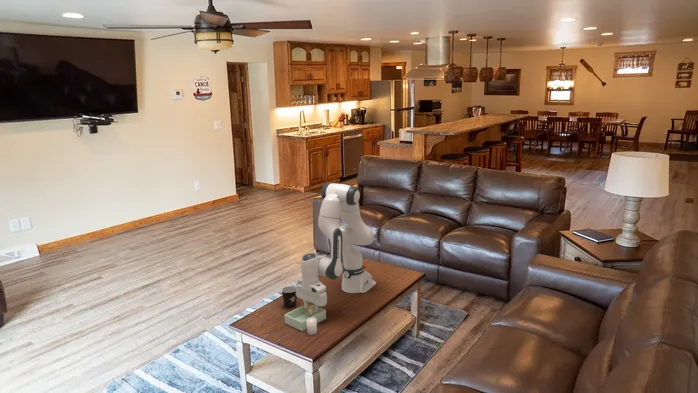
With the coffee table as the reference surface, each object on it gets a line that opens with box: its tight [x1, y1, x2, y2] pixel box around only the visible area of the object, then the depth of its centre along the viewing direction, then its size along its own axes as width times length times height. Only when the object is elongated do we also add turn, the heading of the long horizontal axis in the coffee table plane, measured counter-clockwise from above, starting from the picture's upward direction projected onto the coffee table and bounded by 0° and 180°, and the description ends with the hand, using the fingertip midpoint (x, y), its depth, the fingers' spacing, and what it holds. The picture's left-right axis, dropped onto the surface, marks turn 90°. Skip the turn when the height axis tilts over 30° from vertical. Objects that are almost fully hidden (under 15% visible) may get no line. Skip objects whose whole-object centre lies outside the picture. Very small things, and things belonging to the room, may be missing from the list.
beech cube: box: [303, 302, 318, 315], centre depth 252 cm, size 5×5×5 cm
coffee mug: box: [281, 285, 299, 309], centre depth 267 cm, size 12×9×10 cm
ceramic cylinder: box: [306, 317, 318, 336], centre depth 238 cm, size 5×5×7 cm
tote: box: [283, 304, 327, 332], centre depth 249 cm, size 17×13×5 cm
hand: (311, 309), depth 252 cm, fingers closed on beech cube, 5 cm apart
